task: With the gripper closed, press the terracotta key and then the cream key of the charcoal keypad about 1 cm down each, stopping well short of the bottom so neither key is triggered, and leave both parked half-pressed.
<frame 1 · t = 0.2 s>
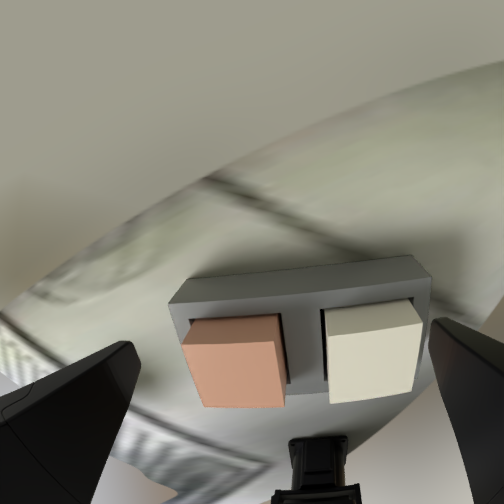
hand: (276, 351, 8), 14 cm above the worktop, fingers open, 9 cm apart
cream key: (368, 346, 18), point 4 cm above the worktop, slide at 0.0 cm
terracotta key: (240, 357, 20), point 4 cm above the worktop, slide at 0.0 cm
keypad: (304, 319, 23), on the worktop
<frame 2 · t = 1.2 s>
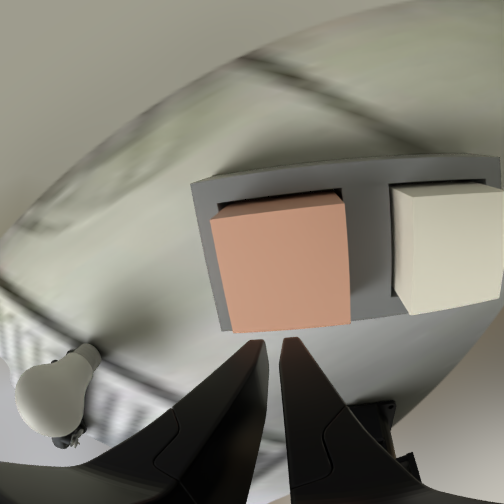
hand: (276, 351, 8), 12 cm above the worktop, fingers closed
cream key: (445, 240, 14), point 4 cm above the worktop, slide at 0.0 cm
terracotta key: (286, 257, 15), point 4 cm above the worktop, slide at 0.0 cm
keypad: (355, 226, 19), on the worktop
can opener: (73, 392, 30), on the worktop
lightbulb: (95, 348, 26), on the worktop
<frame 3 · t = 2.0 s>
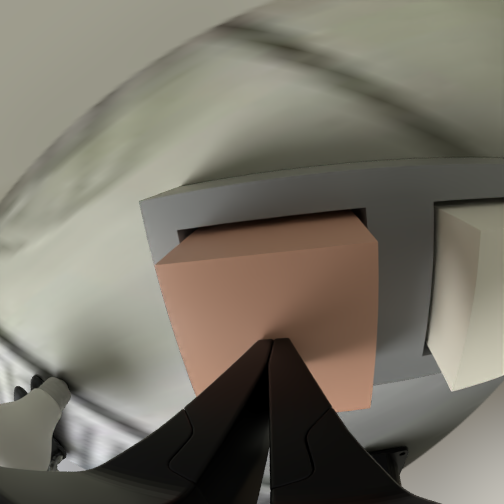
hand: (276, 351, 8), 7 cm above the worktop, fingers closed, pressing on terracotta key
cream key: (500, 280, 9), point 4 cm above the worktop, slide at 0.0 cm
terracotta key: (280, 311, 10), point 4 cm above the worktop, slide at 0.0 cm, touching gripper
keypad: (376, 254, 14), on the worktop
can opener: (47, 417, 24), on the worktop
lightbulb: (65, 381, 21), on the worktop
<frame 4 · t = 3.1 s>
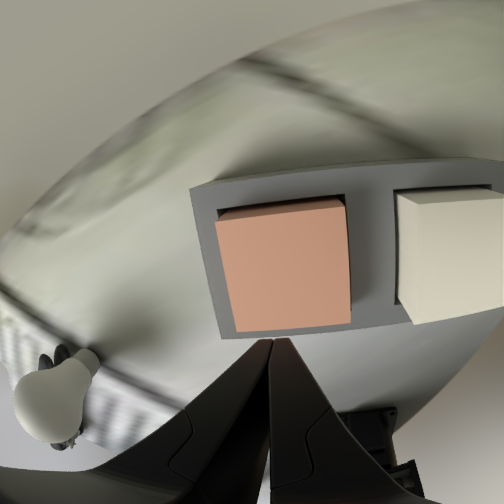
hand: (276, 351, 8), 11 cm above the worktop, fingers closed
cream key: (450, 247, 13), point 4 cm above the worktop, slide at 0.0 cm
terracotta key: (288, 258, 16), point 3 cm above the worktop, slide at 0.9 cm
keypad: (358, 232, 18), on the worktop
can opener: (67, 390, 29), on the worktop
lightbulb: (94, 353, 25), on the worktop
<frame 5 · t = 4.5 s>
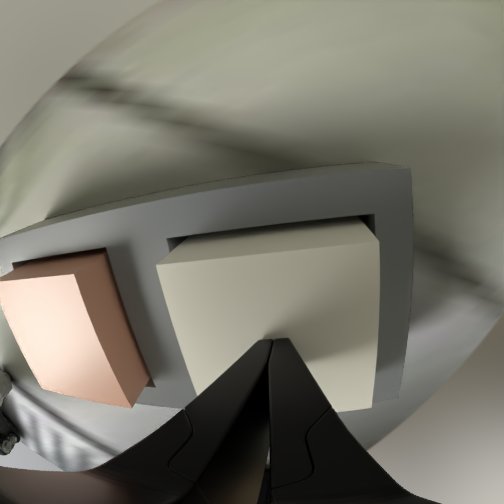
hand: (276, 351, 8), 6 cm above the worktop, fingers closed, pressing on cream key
cream key: (281, 311, 10), point 3 cm above the worktop, slide at 1.0 cm, touching gripper
terracotta key: (81, 318, 12), point 3 cm above the worktop, slide at 0.9 cm
keypad: (192, 280, 14), on the worktop
can opener: (0, 399, 25), on the worktop
lightbulb: (9, 374, 21), on the worktop
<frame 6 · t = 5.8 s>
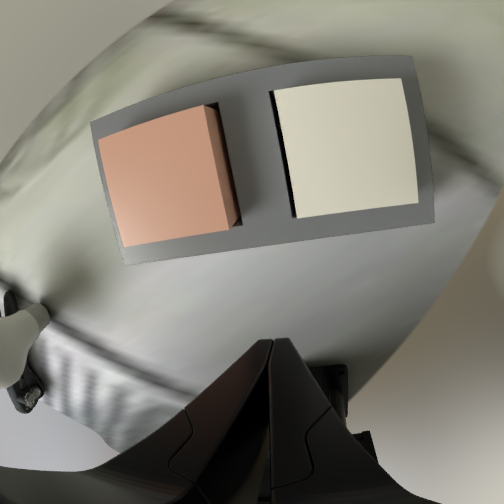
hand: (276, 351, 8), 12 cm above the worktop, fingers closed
cream key: (343, 145, 14), point 3 cm above the worktop, slide at 1.1 cm
terracotta key: (175, 175, 15), point 3 cm above the worktop, slide at 0.9 cm
keypad: (263, 155, 18), on the worktop
can opener: (24, 346, 29), on the worktop
lightbulb: (46, 309, 25), on the worktop
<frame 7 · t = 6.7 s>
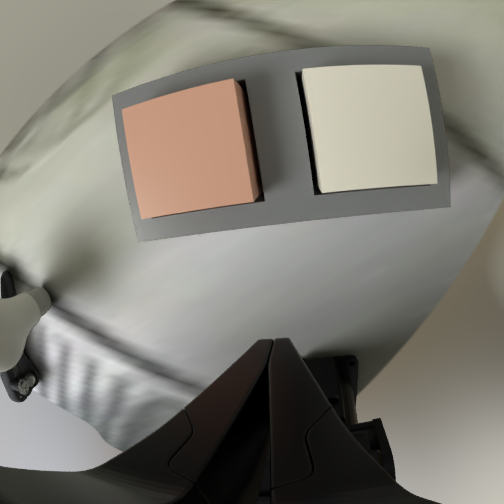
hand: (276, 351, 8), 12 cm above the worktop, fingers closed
cream key: (365, 127, 14), point 3 cm above the worktop, slide at 1.1 cm
terracotta key: (197, 150, 15), point 3 cm above the worktop, slide at 0.9 cm
keypad: (283, 138, 18), on the worktop
can opener: (20, 331, 28), on the worktop
lightbulb: (48, 294, 25), on the worktop
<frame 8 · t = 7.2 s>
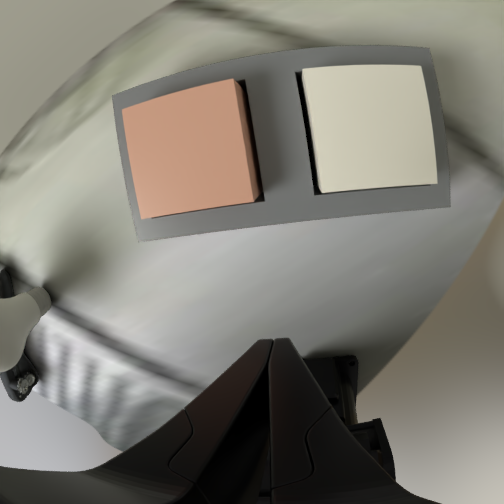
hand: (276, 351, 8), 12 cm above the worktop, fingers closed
cream key: (365, 127, 14), point 3 cm above the worktop, slide at 1.1 cm
terracotta key: (197, 150, 15), point 3 cm above the worktop, slide at 0.9 cm
keypad: (283, 138, 18), on the worktop
can opener: (19, 330, 28), on the worktop
lightbulb: (48, 294, 25), on the worktop
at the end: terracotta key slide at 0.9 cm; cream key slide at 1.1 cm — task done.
